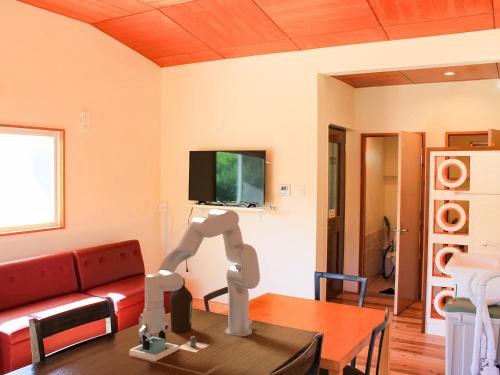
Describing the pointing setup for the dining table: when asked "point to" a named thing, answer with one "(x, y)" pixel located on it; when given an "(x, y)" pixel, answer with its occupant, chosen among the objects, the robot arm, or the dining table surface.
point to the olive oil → (181, 310)
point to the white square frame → (151, 357)
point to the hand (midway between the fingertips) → (154, 346)
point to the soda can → (141, 327)
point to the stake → (193, 345)
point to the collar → (155, 345)
